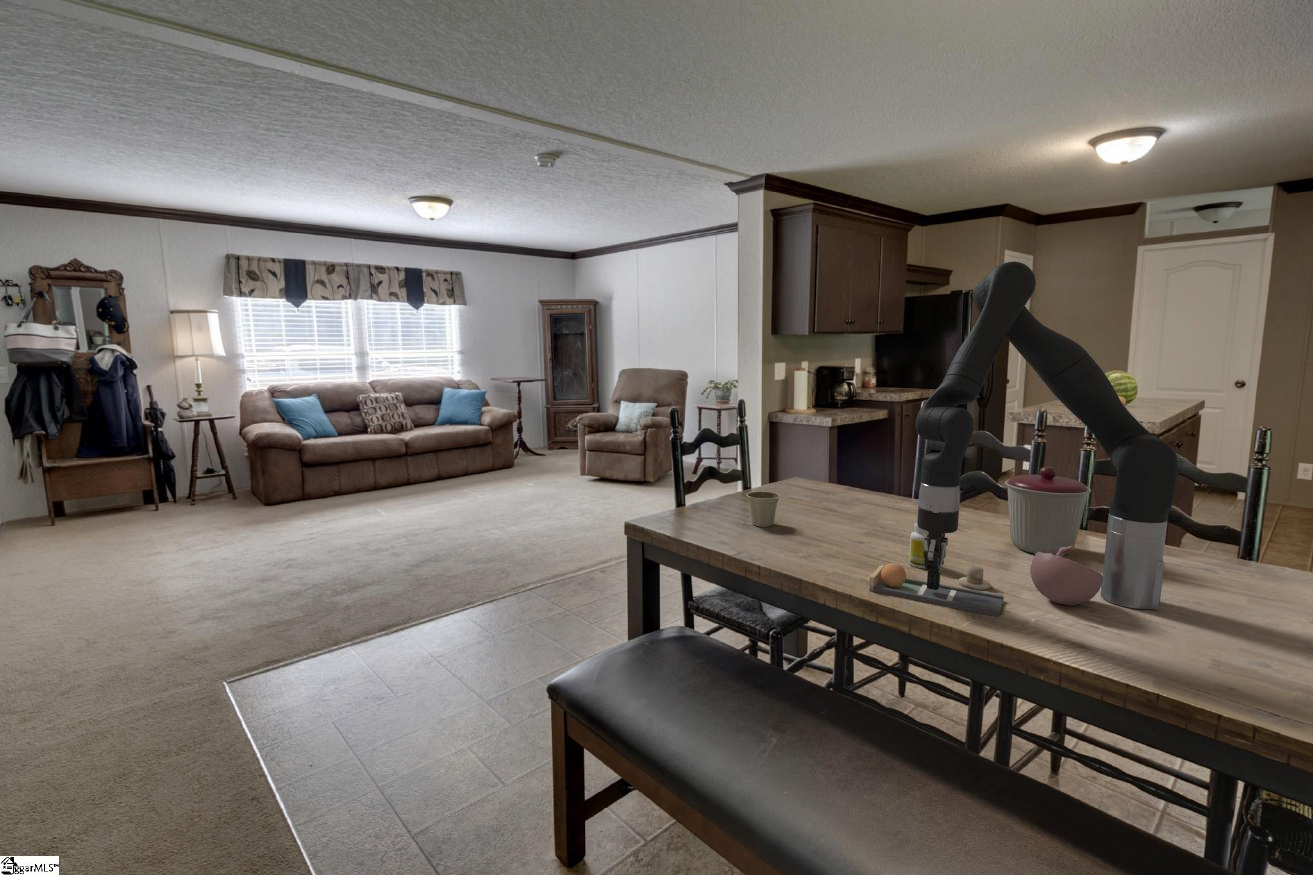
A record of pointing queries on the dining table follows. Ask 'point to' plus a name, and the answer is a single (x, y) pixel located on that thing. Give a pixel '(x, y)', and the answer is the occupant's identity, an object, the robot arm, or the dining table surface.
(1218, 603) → the dining table surface
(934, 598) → the lane
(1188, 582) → the dining table surface
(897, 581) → the ball
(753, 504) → the flower pot
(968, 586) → the beige brimmed cylinder
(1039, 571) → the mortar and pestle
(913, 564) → the supplement bottle
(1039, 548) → the canister
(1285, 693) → the dining table surface
